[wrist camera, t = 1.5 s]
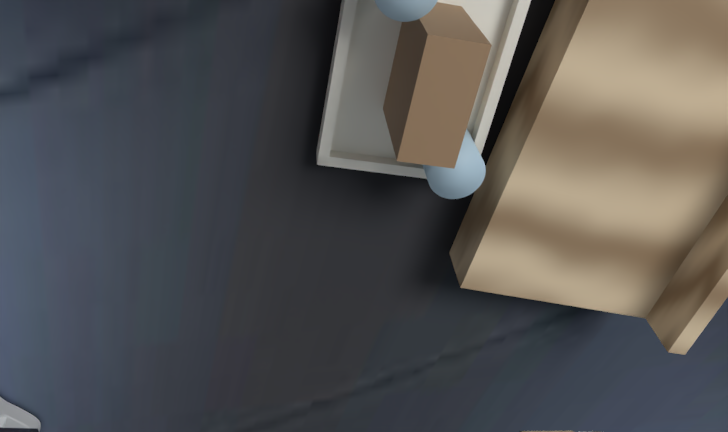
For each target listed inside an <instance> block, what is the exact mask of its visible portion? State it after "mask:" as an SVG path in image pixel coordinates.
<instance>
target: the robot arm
mask: <svg viewBox="0 0 728 432" xmlns="http://www.w3.org/2000/svg"><path fill="white" fill-rule="evenodd" d="M40 429H41V423H40V421H39V420H38V419H37V418H36V417H35V416H33V415H32V414H30V413H28V412H27V411H25V410H23V409H21V408H19V407H17V406H15V405H13V404H11V403H9V402H7V401H5V400H4V399H3V398H1V397H0V432H40ZM520 432H573V431H520ZM594 432H599V431H594Z"/></svg>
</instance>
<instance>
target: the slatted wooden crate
mask: <svg viewBox="0 0 728 432" xmlns="http://www.w3.org/2000/svg"><path fill="white" fill-rule="evenodd" d="M485 167H486V173H485V178H484V180H483V182H482V184H481V185H480V187H479V188H478V189H477V190H476V191H475V192H474V195H473V197H472V200H471V202H470V204H469V207H468V209H467V211H466V214H465V216H464V219H463V221H462V223H461V226H460V228H459V230H458V233H457V235H456V238H455V240H454V242H453V245H452V247H451V250H450V252H449V254H450V257H451V260H452V264H453V267H454V270H455V273H456V276H457V279H458V282H459V285H460V288H465V289H471V290H477V291H483V292H489V293H496V294H502V295H508V296H514V297H520V298H526V299H532V300H538V301H544V302H550V303H556V304H562V305H568V306H574V307H580V308H586V309H592V310H599V311H605V312H611V313H617V314H623V315H629V316H635V317H641V318H646V320H647V321H648V323H649V324H650V326H651V327H652V329H653V330H654V332H655V333H656V335H657V336H658V338H659V339H660V341H661V342H662V344H663V345H664V347H665V348H666V350H667V351H668V352H670V353H677V354H683V355H685V354H686V353H687V351H688V350H689V349H690V347H691V346H692V344H693V343H694V342H695V340H696V339H697V338H698V336H699V335H700V334H701V332H702V331H703V330H704V328H705V327H706V325H707V324H708V323H709V321H710V320H711V319H712V317H713V316H714V315H715V313H716V312H717V311H718V309H719V308H720V307H721V305H722V304H723V302H724V301H725V300H726V298H727V297H728V0H555V2H554V4H553V7H552V9H551V12H550V14H549V16H548V19H547V21H546V24H545V26H544V28H543V31H542V33H541V35H540V38H539V40H538V43H537V45H536V47H535V50H534V52H533V54H532V57H531V59H530V62H529V64H528V66H527V69H526V71H525V73H524V76H523V78H522V81H521V83H520V85H519V88H518V90H517V93H516V95H515V97H514V100H513V102H512V104H511V107H510V109H509V112H508V114H507V116H506V119H505V121H504V123H503V126H502V128H501V131H500V133H499V135H498V138H497V140H496V142H495V145H494V147H493V150H492V152H491V154H490V157H489V159H488V162H487V164H486V166H485Z"/></svg>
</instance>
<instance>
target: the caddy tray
mask: <svg viewBox="0 0 728 432" xmlns="http://www.w3.org/2000/svg"><path fill="white" fill-rule="evenodd" d="M530 2H531V0H342V2H341V8H340V14H339V20H338V26H337V32H336V38H335V44H334V50H333V56H332V62H331V68H330V74H329V80H328V85H327V91H326V97H325V103H324V109H323V115H322V121H321V127H320V133H319V139H318V145H317V151H316V157H317V165H322V166H330V167H338V168H346V169H354V170H361V171H369V172H377V173H385V174H393V175H401V176H409V177H416V178H424V179H427V180H428V183H429V186H430V187H431V189H432V190H433V191H434V192H435V193H436V194H437V195H439V196H441V197H443V198H447V199H459V198H463V197H466V196H468V195H470V194H472V193H473V192H474V191H476V190H477V189H478V188H479V187H480V185H481V184H482V182H483V180H484V178H485V173H486V167H485V163H484V161H483V159H482V157H481V154H482V151H483V148H484V145H485V142H486V138H487V135H488V132H489V129H490V126H491V123H492V120H493V117H494V114H495V111H496V107H497V104H498V101H499V98H500V95H501V92H502V89H503V86H504V83H505V80H506V76H507V73H508V70H509V67H510V64H511V61H512V58H513V55H514V52H515V49H516V45H517V42H518V39H519V36H520V33H521V30H522V27H523V24H524V21H525V18H526V14H527V11H528V8H529V5H530Z"/></svg>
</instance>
